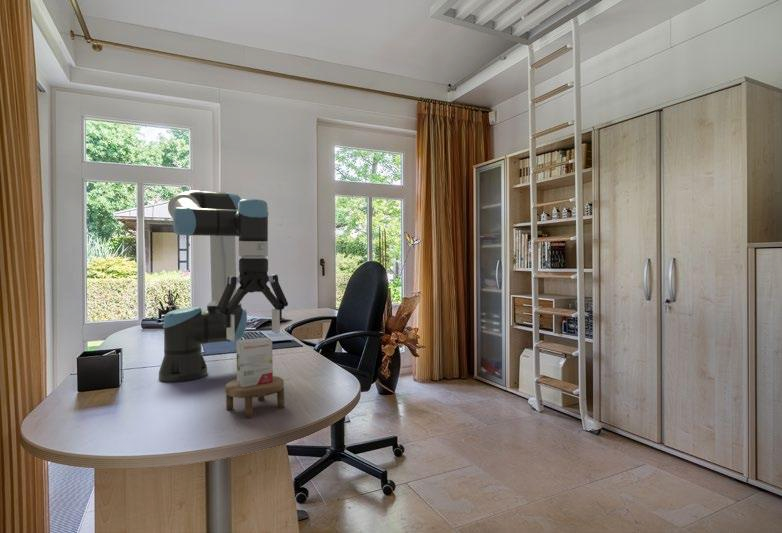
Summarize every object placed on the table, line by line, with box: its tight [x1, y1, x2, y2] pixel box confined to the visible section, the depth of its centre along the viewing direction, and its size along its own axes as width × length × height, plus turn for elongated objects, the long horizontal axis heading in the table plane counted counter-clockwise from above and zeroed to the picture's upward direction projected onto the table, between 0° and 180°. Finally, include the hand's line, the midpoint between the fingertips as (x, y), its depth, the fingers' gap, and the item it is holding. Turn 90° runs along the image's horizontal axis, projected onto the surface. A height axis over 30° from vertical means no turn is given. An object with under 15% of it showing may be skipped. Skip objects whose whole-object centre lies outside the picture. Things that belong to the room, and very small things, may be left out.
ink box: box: [235, 336, 274, 388], centre depth 116 cm, size 9×5×12 cm, turn 124°
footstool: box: [225, 375, 285, 419], centre depth 116 cm, size 15×15×7 cm
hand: (254, 336), depth 116 cm, fingers open, 13 cm apart
